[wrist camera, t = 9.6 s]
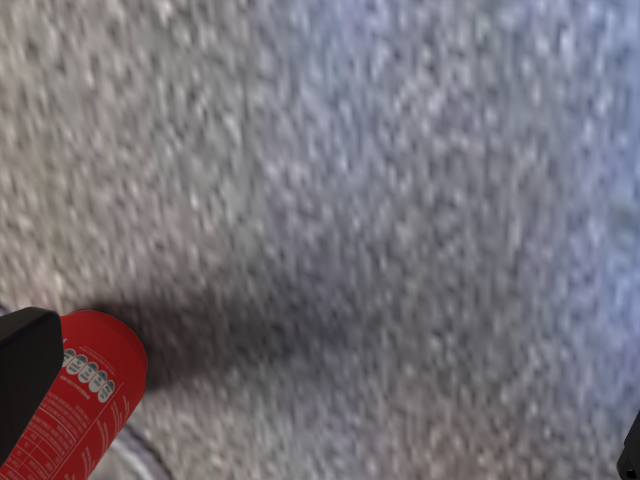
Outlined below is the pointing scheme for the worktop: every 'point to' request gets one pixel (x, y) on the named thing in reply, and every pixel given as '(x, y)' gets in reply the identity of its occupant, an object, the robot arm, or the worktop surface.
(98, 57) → the worktop surface
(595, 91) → the worktop surface
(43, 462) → the beverage can
